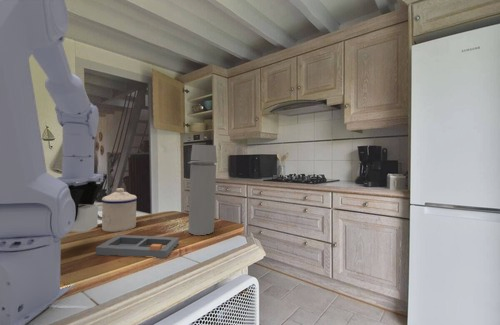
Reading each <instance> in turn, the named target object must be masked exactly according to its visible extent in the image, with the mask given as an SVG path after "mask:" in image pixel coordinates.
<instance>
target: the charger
mask: <svg viewBox="0 0 500 325" xmlns="http://www.w3.org/2000/svg"><path fill="white" fill-rule="evenodd" d="M98 213H99V206H98V205H96V204H94V205H89V204H79V205H78V214H77V219H76V221H74V224H73V227H72V229H71V231H70V232H74V233H76V232H77V233H79V232H80V233H86V232H89V231H91V230H92V229H95V228H97V227H98V226H99V225H98V223H99V222H98V215H99V214H98Z"/></svg>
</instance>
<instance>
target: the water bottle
mask: <svg viewBox="0 0 500 325" xmlns="http://www.w3.org/2000/svg"><path fill="white" fill-rule="evenodd" d="M191 146H192V147H191V153H190V161H188V162H187V164H190V167H189V168H190V169H189V170H190V172H189V201H188V202H189V205H188V206H189V207H188V209H189V210H188V212H189V213H188V233H189V234H190V233H191V234H193V235H192V236H196V235H205V236H207V235H206V234H210V233H212V232H213V233H214V232H215V216H216V215H215V213H216V211H215V210H216V209H215V208H216V180H217V165H216V164H217V162H218V161H217V160H218V159H217V145H213V144H192V145H191ZM213 233H212V234H213ZM191 234H190V235H191ZM210 235H211V234H210Z"/></svg>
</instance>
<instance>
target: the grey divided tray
mask: <svg viewBox="0 0 500 325" xmlns="http://www.w3.org/2000/svg"><path fill="white" fill-rule="evenodd" d="M179 240H180V238H179V237H173V236H172V237H171V236H154V235H151V236H149V235H131V234H130V235H129V234H117V235H115V236H113V237H111V238H109V239H108V240H107V241H105V242H102V243H101V244H99V245H98V246H97V245H96V247H95V255H96V256H108V257H109V256H110V255H123V256H122V257H127V256H153V257H156V258H155V259H167V258H168V257H169V256H170V254H171V253H172V252H173V251H174V250H175V249H174V247H175V246H176V245H177V244H178V243H179V242H180V241H179ZM179 244H180V243H179ZM179 244H178V245H179ZM148 245H151V246H150V247H146V246H148ZM162 245H166V246H165V247H164V248H162ZM178 245H177V246H178ZM173 249H174V250H173ZM172 250H173V251H172ZM171 251H172V252H171ZM110 257H111V256H110Z"/></svg>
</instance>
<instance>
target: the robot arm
mask: <svg viewBox="0 0 500 325" xmlns="http://www.w3.org/2000/svg"><path fill="white" fill-rule="evenodd" d="M68 13H69V12H68V9H67V4H66V0H0V325H27V324H29V322H30V321H31V320H33V319H35V317H37V316H38V315H40V314H41V313H42V312H43V311H45V310H46V309H47V308H49V307H50V306H52V303H53V302H55V301H57V300H58V299H59V298H60V297H61V296H63V295H64V294H66V293H67V292H68V291H70V290H71V289H73V288H74V287H75V284H74V285H72V286H69V287H68V286H67V287H68V288H67V287H65V288H62V289H60V283H61V255H62V254H61V252H62V251H61V248H62V246H61V242H62V238H65V237H66V236H67V235H68V234H69V233H70V232H72V231H71V229H72V227H73V224H74V221H76V219H77V214H78V205H79V204H89V205H95V202H96V198H97V197H98V196H99V192H101V191H102V189H103V184H102V183H103V182H104V173H95V141H96V140H95V139H96V137H97V135H98V126H99V121H100V115H99V114H100V113H99V108H98V107H97V105H94V103H92V102H91V100H90V98H89V97H88V94H87V92H86V88H85V86H84V83H83V82H82V79H81V78H80V77H79V76H78V75H76V74H74V73H72V71H71V67H70V63H69V61H68V57H67V55H66V50H65V47H64V42H65V38H66V33H67V31H68V27H69V14H68ZM31 56H32V57H33V58H34V59H35V61H36V62H37V64H38V65H39V67H40V68H41V69H42V71H43V73H44V74H45V75H46V77H47V78H46V79H45V81H44V86H45V89H46V91H47V92H48V94H49V96H50V98H51V99H52V101H53V103H54V104H55V107H54V109H55V110H54V111H55V113H56V119H57V122H58V125H60V126H61V128H62V144H61V145H62V148H61V149H62V152H61V153H62V155H61V156H62V157H61V159H62V162H61V176H58V177H55V176H54V175H52V174H50V173H48V171H47V165H46V164H47V163H46V160H45V159H46V158H45V152H44V146H43V140H42V134H41V133H42V132H41V127H40V121H39V116H38V115H39V114H38V110H37V101H36V97H35V91H34V90H35V89H34V84H33V78H32V73H31V72H32V71H31V66H30V58H31Z"/></svg>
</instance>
